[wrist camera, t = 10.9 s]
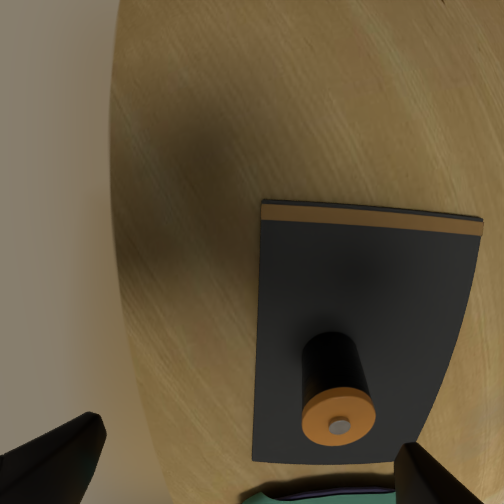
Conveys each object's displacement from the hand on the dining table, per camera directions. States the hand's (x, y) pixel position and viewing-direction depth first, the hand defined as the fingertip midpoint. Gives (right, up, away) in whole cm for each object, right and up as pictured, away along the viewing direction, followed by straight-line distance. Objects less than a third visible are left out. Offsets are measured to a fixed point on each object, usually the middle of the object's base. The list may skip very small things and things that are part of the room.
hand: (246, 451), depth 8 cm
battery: (+5, -1, +11) cm, 12 cm away
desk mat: (+7, -2, +11) cm, 13 cm away
